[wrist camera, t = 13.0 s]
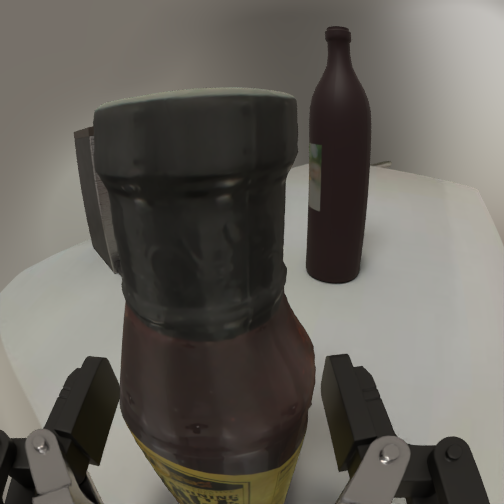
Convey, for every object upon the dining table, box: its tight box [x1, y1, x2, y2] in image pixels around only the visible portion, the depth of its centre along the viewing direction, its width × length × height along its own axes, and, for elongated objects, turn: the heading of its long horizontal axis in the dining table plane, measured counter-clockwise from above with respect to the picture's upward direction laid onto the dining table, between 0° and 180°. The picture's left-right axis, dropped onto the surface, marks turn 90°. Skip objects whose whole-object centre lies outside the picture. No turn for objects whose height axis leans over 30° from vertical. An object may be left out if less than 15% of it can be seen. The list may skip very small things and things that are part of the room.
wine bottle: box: [306, 26, 371, 283], centre depth 33 cm, size 7×7×30 cm
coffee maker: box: [74, 126, 123, 276], centre depth 42 cm, size 18×12×20 cm, turn 42°
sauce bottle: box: [93, 88, 316, 504], centre depth 10 cm, size 6×6×20 cm
